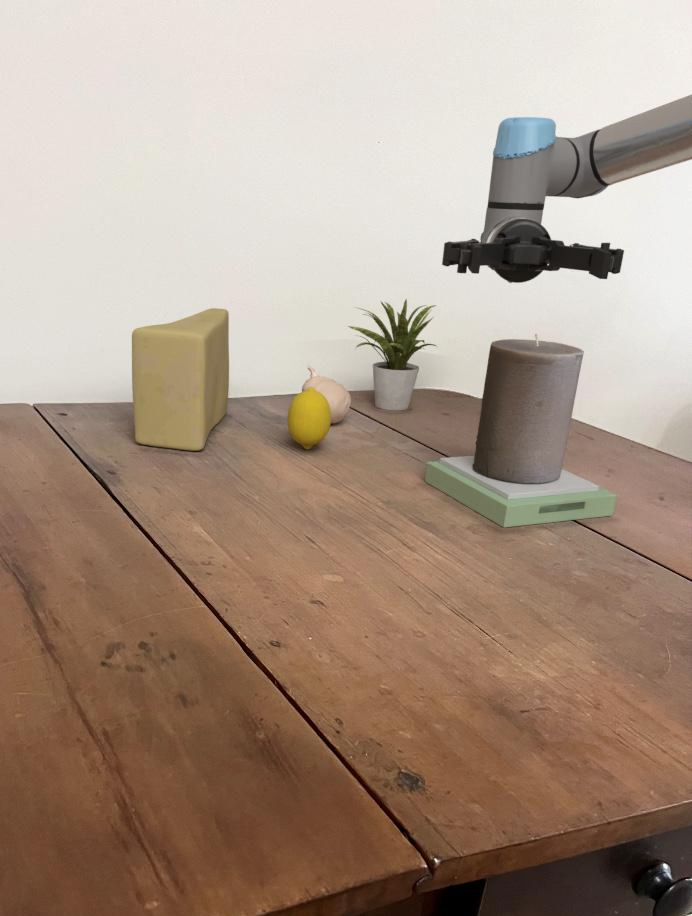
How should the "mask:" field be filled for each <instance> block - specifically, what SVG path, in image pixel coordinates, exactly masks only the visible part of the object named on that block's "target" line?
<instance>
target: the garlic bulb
mask: <svg viewBox="0 0 692 916" xmlns="http://www.w3.org/2000/svg"><path fill="white" fill-rule="evenodd" d="M307 370H308V371H309V372H310V378H308V379H306V380H305V381H304V383H303V384H302V386H301V392H303V391H306V390H307V389H308V388H314V389H315V391H317V392H319V393H321V394H322V395H323V396H324V397H325V398H326V399H327V401H328V403H329V407H330V412H331V424H337V423H340V422H341V421H342V420H343V419H344V418H345V417H346V416H347V414H348V412H349V410H350V408H351V404H352V398H351V395H350V392H349V391H348V390H347V388H346V387H345V386H344V385H343V384H341V383H339V382H338V381H336V380H335V379H333V378H331V377H327V376H321V375H318V374H317V372H316V369H315V368H313V367H312V366H311V365H309V364H308V366H307Z"/></svg>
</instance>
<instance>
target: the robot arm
mask: <svg viewBox="0 0 692 916" xmlns="http://www.w3.org/2000/svg"><path fill="white" fill-rule="evenodd" d="M556 130H557V125H556V121H554V120H553V119H552V118H549V117H536V116H535V117H534V116H533V117H532V116H531V117H530V116H529V117H528V116H522V117H521V116H519V117H518V116H517V117H507V118H504V119H503V120H502V121H501V122H500V123H499V125H498V127H497V134H496V139H495V146H494V147H493V151H492V164H491V173H490V179H489V180H490V181H489V190H488V199H487V207H486V209H485V210H486V211H485V217H484V218H485V219H484V226H483V231H482V232H481V234H480V237H479V238H480V239H479V240H477V238H470V239H468V240H461V241H446V242H444V244H443V253H442V261H441V265H442V266H443V267H450V266H456V265H457V268H456V273H457V274H467V272H468V271H467V270H469V272H470V273H471V274H480V268H481V267H482V266H483V267H484V266H487V267H488V268H489V269H491V271H494V272H495V273H496V274H497V275H498V276H499V277H500V278H501V279H503V280H504V281H506V282H508V283H509V284H512V283H515V284H520V283H526V282H530V281H532V280H534V279H535V278H537V277H538V276H540V275H541V274H542V273H543V272H544V271H547V272H558V271H560V269H568V270H576V271H584V272H588V274H589V275H591V276H593V277H595V278H597V279H599V280H608V277H609V273H611V274H613V275H617V274H619V273H621V270H622V264H623V259H624V254H625V250H624V249H622V248H611V242H601V243H600V247H599V246H593V245H592V246H591V245H585V244H580V243H578V242H574V243H571V244H569V245H565V242H564V241H563V240H556V239H552V237H551V236H550V234H549V231H548V230H547V229H546V227H544V226H543V225H542V223H543V222H542V220H543V214H544V209H545V204H546V203H545V201H546V198H547V197H557V198H572V199H584V198H588V197H594V196H597V195H599V194H601V193H602V192H604V191H605V190H606V189H607V188H608V187H609V186H612V185H615V184H617V183H621V182H624V181H627V180H630V179H633V178H637V177H640V176H643V175H647V174H650V173H652V172H656V171H658V170H659V171H660V170H662V169H665V168H669V167H672V166H675V165H678V164H682V163H685V162H688V161H692V94H689V95H686V96H684V97H681V98H678V99H675V100H673V101H670V102H668V103H664V104H663V105H660V106H657V107H654V108H651V109H648V110H646V111H643V112H640V113H638V114H636V115H635V114H634V115H632V116H630V117H627V118H625V119H622V120H619V121H616V122H615V123H612V124H611V123H610V124H609V125H606V126H604V127H601V128H599V129H596V130H594V131H593V130H592V131H590V132H587V133H585V134H582V135H580V136H576V137H565V136H564V137H563V136H557V135H556Z"/></svg>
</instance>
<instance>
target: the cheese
mask: <svg viewBox="0 0 692 916" xmlns="http://www.w3.org/2000/svg"><path fill="white" fill-rule="evenodd" d="M229 315H230V313H229V311H228V310H227V309H226V308H216V307H213V308H211V307H210V308H207V309H205V310H202V311H200V312H198V313H195V314H191V315H189V316H187V317H184V318H180V319H178V320H175V321H172V322H168V323H167V322H166V323H162V324H161V323H160V324H151V325H146V326H140V327H137V328H136V327H135V328H134V329H133V331H132V332H131V384H132V385H131V389H132V407H133V425H134V440H135V442H136V443H138V444H140V445H144V446H150V447H157V448H164V449H174V450H180V451H189V452H190V451H192V452H198V451H202V450H203V449H204V448H205V445H206V443H207V440H208V437H209V435H210V433H211V431H212V430H213V428H214V427H215V426H217V425H218V423H219V422H221V421H222V419H223V418H224V416H225V415H227V411H228V403H229V389H230V388H229V387H230V346H229V345H230V343H229V342H230V341H229V335H230V334H229V333H230V332H229V330H230V326H229V325H230V321H229V320H230V316H229Z"/></svg>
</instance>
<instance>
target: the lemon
mask: <svg viewBox="0 0 692 916" xmlns="http://www.w3.org/2000/svg"><path fill="white" fill-rule="evenodd" d="M287 413H288V414H287V419H286V420H287V429H288V432H289V435H290V436H291V438H292V439H293V440H294V441H295V442H296V443H298V444H300V445H301V446H302V448H304V450H311V449H312V448H313V446H315V445H318V444H319V443H321V442H323V440H325V438H326V437H327V435H328V433H329V432H330V428H331V424H332V423H331V412H330V407H329V403H328V401H327V399H326V398H325V397H324V396H323V395H322V394H321V393H319V392H317V391H315V389H314V388H308V389H307V390H306V391H303V392H302V391H301V392H298V394H297V395H295V396H294V397H293V398H292V401H291V402H290V405H289V409H288V412H287Z"/></svg>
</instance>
